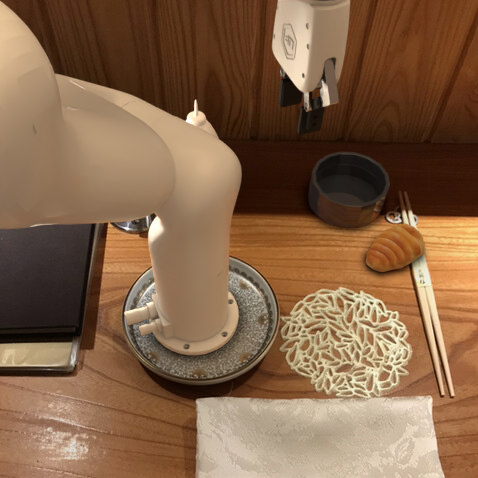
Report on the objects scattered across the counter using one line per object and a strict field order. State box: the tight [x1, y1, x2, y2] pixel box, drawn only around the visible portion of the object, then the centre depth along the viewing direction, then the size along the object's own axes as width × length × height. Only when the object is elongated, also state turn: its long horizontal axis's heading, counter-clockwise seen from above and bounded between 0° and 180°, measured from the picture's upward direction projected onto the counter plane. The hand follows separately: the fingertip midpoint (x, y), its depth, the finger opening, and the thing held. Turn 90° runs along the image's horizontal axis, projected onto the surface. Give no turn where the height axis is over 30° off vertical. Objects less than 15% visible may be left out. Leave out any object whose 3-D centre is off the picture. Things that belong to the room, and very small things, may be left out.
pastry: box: [365, 223, 427, 273], centre depth 86 cm, size 9×7×4 cm
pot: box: [307, 151, 391, 229], centre depth 91 cm, size 12×12×5 cm
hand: (299, 116), depth 74 cm, fingers open, 5 cm apart
